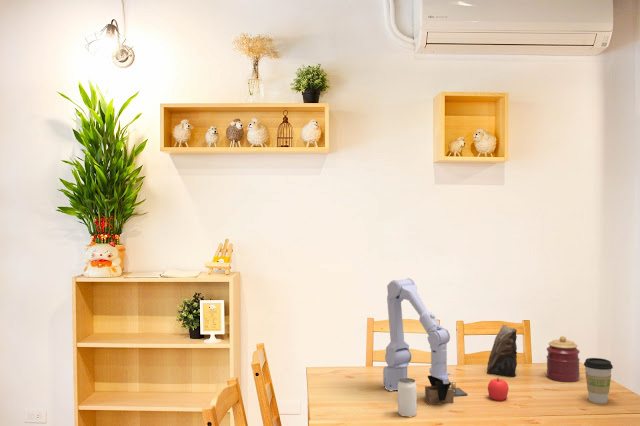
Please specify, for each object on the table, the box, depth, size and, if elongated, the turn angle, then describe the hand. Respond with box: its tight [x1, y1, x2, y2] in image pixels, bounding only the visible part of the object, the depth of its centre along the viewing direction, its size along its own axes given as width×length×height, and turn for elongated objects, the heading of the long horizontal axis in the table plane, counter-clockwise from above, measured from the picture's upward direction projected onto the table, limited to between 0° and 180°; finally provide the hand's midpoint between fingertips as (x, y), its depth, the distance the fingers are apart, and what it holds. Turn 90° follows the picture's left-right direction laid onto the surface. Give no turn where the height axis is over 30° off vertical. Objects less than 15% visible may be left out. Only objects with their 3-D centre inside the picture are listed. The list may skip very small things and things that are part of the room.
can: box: [397, 377, 417, 417], centre depth 208 cm, size 6×6×12 cm
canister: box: [546, 335, 581, 383], centre depth 250 cm, size 13×13×18 cm
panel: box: [450, 381, 468, 398], centre depth 231 cm, size 8×8×4 cm
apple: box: [487, 377, 510, 402], centre depth 224 cm, size 8×8×8 cm
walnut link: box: [424, 385, 454, 405], centre depth 222 cm, size 9×6×5 cm, turn 100°
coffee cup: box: [583, 357, 614, 405], centre depth 220 cm, size 10×10×15 cm
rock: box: [486, 324, 518, 378], centre depth 257 cm, size 13×13×20 cm
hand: (439, 397), depth 222 cm, fingers closed on walnut link, 6 cm apart
